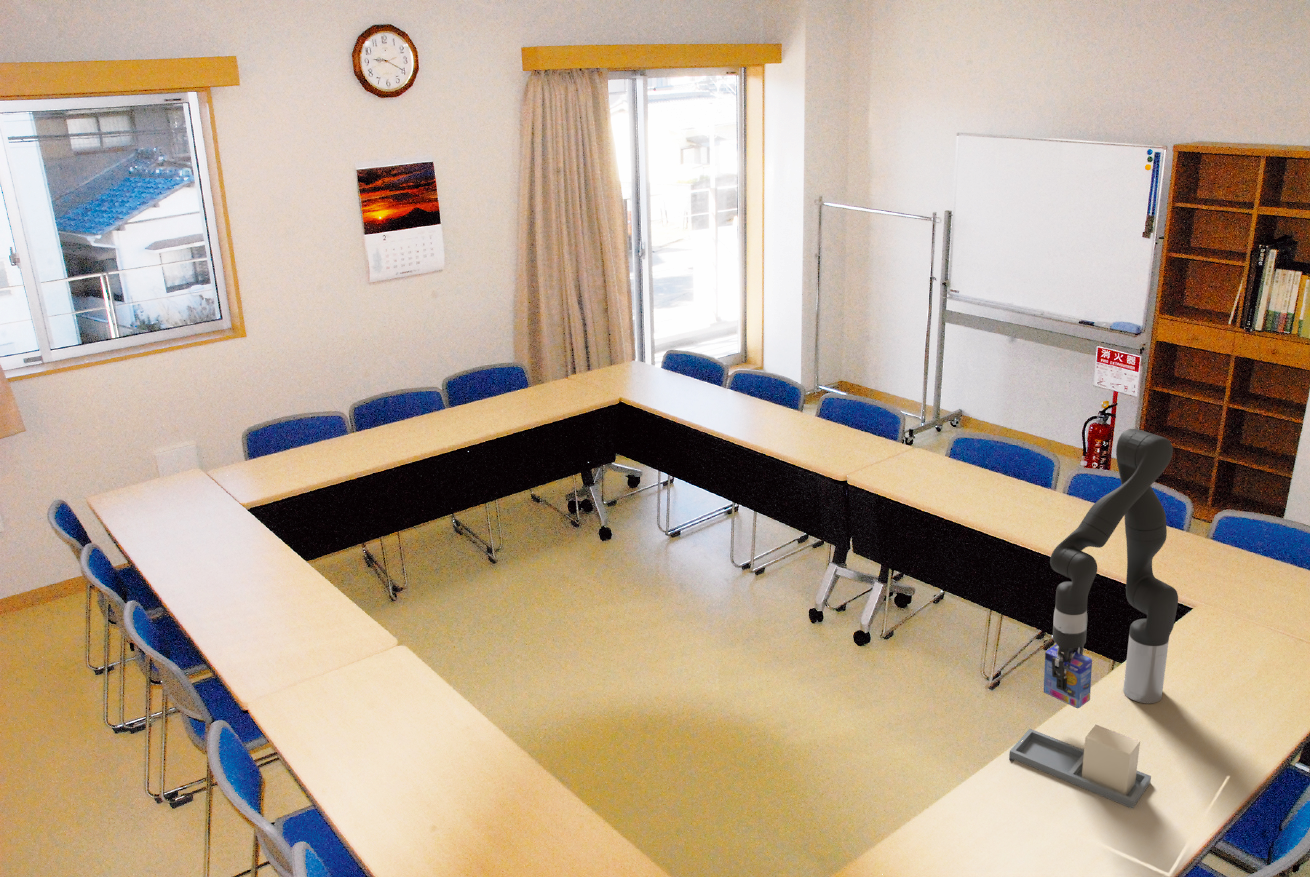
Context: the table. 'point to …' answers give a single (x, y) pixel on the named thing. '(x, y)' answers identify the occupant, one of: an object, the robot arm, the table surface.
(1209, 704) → the table surface
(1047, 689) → the ink cartridge box
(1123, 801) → the tray
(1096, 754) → the beige box
